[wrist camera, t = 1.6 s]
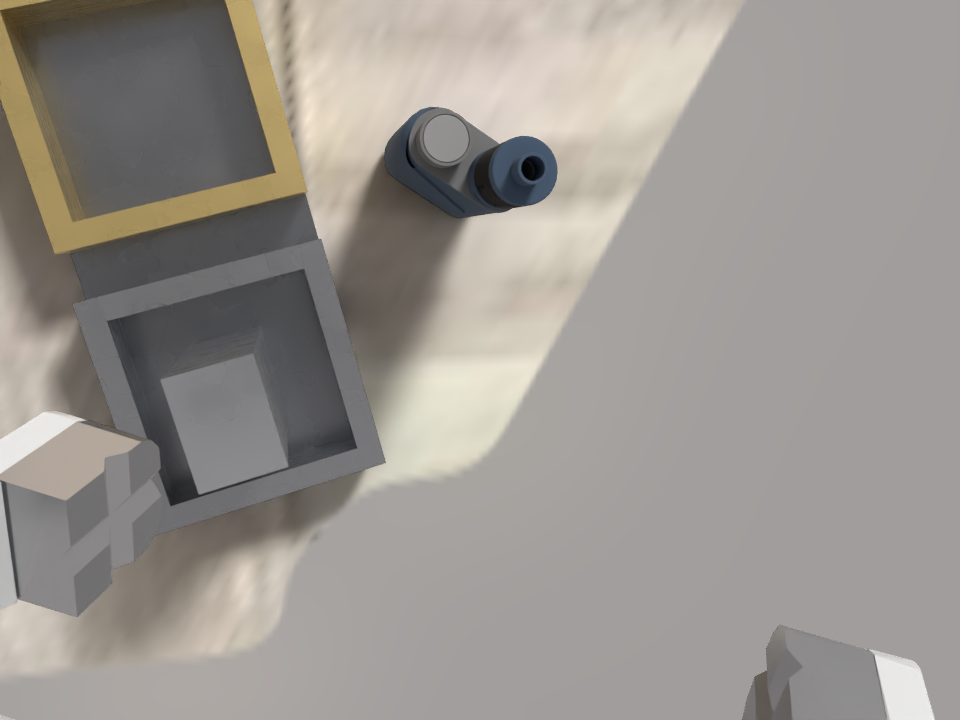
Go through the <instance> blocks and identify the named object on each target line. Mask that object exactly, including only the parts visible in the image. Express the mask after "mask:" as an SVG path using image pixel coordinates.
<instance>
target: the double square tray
mask: <svg viewBox="0 0 960 720" xmlns="http://www.w3.org/2000/svg"><path fill="white" fill-rule="evenodd" d="M0 100H1V102H2V105H3V108H4V111H5V114H6V117H7V120H8V122H9V125H10V128H11V131H12V134H13V137H14V139H15V142H16V145H17V148H18V151H19V154H20V157H21V159H22V162H23V165H24V168H25V171H26V174H27V176H28V179H29V182H30V185H31V188H32V191H33V194H34V196H35V199H36V202H37V205H38V208H39V211H40V214H41V216H42V219H43V222H44V225H45V228H46V231H47V233H48V236H49V239H50V242H51V245H52V248H53V251H54V253H55V254H71V257H72V260H73V263H74V266H75V268H76V271H77V274H78V277H79V280H80V283H81V286H82V289H83V291H84V294H85V297H86V300H84V301H80V302H77V303H73V304H72V305H73V308H74V310H75V313H76V316H77V319H78V322H79V325H80V327H81V330H82V333H83V336H84V339H85V342H86V345H87V347H88V350H89V353H90V356H91V359H92V362H93V365H94V367H95V370H96V373H97V376H98V379H99V382H100V384H101V387H102V390H103V393H104V396H105V399H106V402H107V404H108V407H109V410H110V413H111V416H112V419H113V421H114V424H115V427H116V429H118V430H121V431H124V432H127V433H131V434H134V435H137V436H140V437H143V438H146V439H149V440H152V441H153V442H154V443H155V444H156V445H157V446H158V447H159V452H160V465H161V469H160V470H159V471H158V472H157V473H156V474H155V475H154V476H153V477H152V478H151V480H152V481H153V483H154V484H155V486H156V488H157V489H158V491H159V492H160V494H161V495H162V513H161V517H160V522H159V527H158V529H157V531H156V533H155V535H154V536H156V535H159V534H162V533H165V532H168V531H171V530H175V529H178V528H181V527H184V526H187V525H190V524H194V523H197V522H200V521H203V520H206V519H209V518H212V517H216V516H219V515H222V514H225V513H228V512H231V511H235V510H238V509H241V508H244V507H247V506H250V505H254V504H257V503H260V502H263V501H266V500H269V499H273V498H276V497H279V496H282V495H285V494H288V493H292V492H295V491H298V490H301V489H304V488H307V487H311V486H314V485H317V484H320V483H323V482H326V481H330V480H333V479H336V478H339V477H342V476H345V475H349V474H352V473H355V472H358V471H361V470H364V469H368V468H371V467H374V466H377V465H380V464H383V463H386V462H385V458H384V455H383V451H382V448H381V444H380V441H379V437H378V434H377V430H376V427H375V423H374V420H373V417H372V413H371V410H370V406H369V403H368V399H367V396H366V392H365V389H364V385H363V382H362V379H361V375H360V372H359V368H358V365H357V361H356V358H355V354H354V351H353V347H352V344H351V341H350V337H349V334H348V330H347V327H346V323H345V320H344V316H343V313H342V309H341V306H340V303H339V299H338V296H337V292H336V289H335V285H334V282H333V278H332V275H331V271H330V268H329V264H328V261H327V258H326V254H325V251H324V247H323V244H322V240H321V239H318V236H317V232H316V229H315V226H314V222H313V219H312V215H311V212H310V208H309V205H308V201H307V198H306V193H307V188H306V185H305V182H304V178H303V175H302V171H301V168H300V164H299V161H298V157H297V154H296V150H295V147H294V143H293V140H292V137H291V133H290V130H289V126H288V123H287V119H286V116H285V112H284V109H283V105H282V102H281V99H280V95H279V92H278V88H277V85H276V81H275V78H274V74H273V71H272V67H271V64H270V61H269V57H268V54H267V50H266V47H265V43H264V40H263V36H262V33H261V29H260V26H259V23H258V19H257V16H256V12H255V9H254V5H253V2H252V0H0ZM258 326H261V330H262V333H263V336H264V339H265V342H266V346H267V349H268V352H269V355H270V359H271V362H272V365H273V368H274V372H275V375H276V378H277V381H278V385H279V388H280V391H281V394H282V397H283V401H284V404H285V407H286V410H287V437H288V467H286V468H283V469H280V470H277V471H274V472H270V473H267V474H264V475H261V476H257V477H254V478H251V479H248V480H245V481H241V482H238V483H235V484H232V485H228V486H225V487H222V488H219V489H216V490H212V491H209V492H206V493H203V494H198V491H197V488H196V485H195V482H194V479H193V476H192V473H191V470H190V467H189V464H188V461H187V458H186V455H185V452H184V449H183V446H182V443H181V440H180V437H179V434H178V431H177V428H176V425H175V422H174V419H173V416H172V413H171V410H170V407H169V404H168V401H167V398H166V396H165V393H164V390H163V387H162V384H161V381H160V379H161V378H162V377H163V376H164V375H165V374H166V373H167V372H168V371H169V370H170V368H171V367H172V366H173V365H174V364H175V363H176V362H177V361H178V360H179V359H180V357H181V356H182V355H183V354H184V353H185V352H186V351H187V350H188V349H189V348H190V347H191V345H193V344H197V343H200V342H204V341H207V340H211V339H215V338H218V337H222V336H225V335H229V334H233V333H236V332H240V331H244V330H247V329H251V328H254V327H258Z"/></svg>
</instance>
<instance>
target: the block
mask: <svg viewBox="0 0 960 720" xmlns="http://www.w3.org/2000/svg"><path fill="white" fill-rule="evenodd" d="M160 381H161V384H162V387H163V390H164V393H165V396H166V398H167V401H168V404H169V407H170V410H171V413H172V416H173V419H174V422H175V425H176V428H177V431H178V434H179V437H180V440H181V443H182V446H183V449H184V452H185V455H186V458H187V461H188V464H189V467H190V470H191V473H192V476H193V479H194V482H195V485H196V488H197V491H198V494H203V493H206V492H209V491H212V490H216V489H219V488H222V487H225V486H228V485H232V484H235V483H238V482H241V481H245V480H248V479H251V478H254V477H257V476H261V475H264V474H267V473H270V472H274V471H277V470H280V469H283V468H286V467H288V437H287V410H286V407H285V404H284V401H283V397H282V394H281V391H280V388H279V385H278V381H277V378H276V375H275V372H274V368H273V365H272V362H271V359H270V355H269V352H268V349H267V346H266V342H265V339H264V336H263V333H262V330H261V326H258V327H254V328H251V329H247V330H244V331H240V332H236V333H233V334H229V335H225V336H222V337H218V338H215V339H211V340H207V341H204V342H200V343H197V344H193V345H191V347H190V348H189V349H188V350H187V351H186V352H185V353H184V354H183V355H182V356H181V357H180V359H179V360H178V361H177V362H176V363H175V364H174V365H173V366H172V367H171V368H170V370H169V371H168V372H167V373H166V374H165V375H164V376H163V377H162V378H161V379H160Z"/></svg>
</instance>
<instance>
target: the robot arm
mask: <svg viewBox="0 0 960 720" xmlns="http://www.w3.org/2000/svg"><path fill="white" fill-rule="evenodd" d="M160 469H161V465H160V452H159V447H158V446H157V445H156V444H155V443H154V442H153V441H152V440H149V439H146V438H143V437H140V436H137V435H134V434H131V433H127V432H124V431H121V430H118V429H115V428H112V427H109V426H106V425H102V424H99V423H96V422H93V421H90V420H84V419H82V418H79V417H76V416H72V415H69V414H66V413H63V412H59V411H48V412H43V413H42V414H40V415H39V416H37V417H35V418H34V419H32V420H31V421H29V422H28V423H26V424H24V425H23V426H21V427H20V428H18V429H16V430H15V431H13V432H12V433H10V434H8V435H7V436H5V437H4V438H2V439H0V610H2V609H4V608H6V607H8V606H11V605H13V604H15V603H17V599H19V600H22V601H26V602H29V603H32V604H35V605H39V606H42V607H45V608H48V609H52V610H55V611H58V612H62V613H65V614H68V615H71V616H75V617H78V616H79V615H80V614H81V613H82V612H83V611H84V610H85V609H86V608H87V607H88V606H89V605H90V604H91V603H92V602H93V601H94V600H95V599H96V598H98V597H99V596H100V595H101V594H102V593H103V592H104V591H105V590H106V589H107V588H108V587H109V586H110V585H111V584H112V569H115V568H117V567H120V566H123V565H126V564H129V563H132V562H134V561H135V560H136V559H137V558H138V557H139V556H140V555H141V554H142V553H143V552H144V551H145V550H146V549H147V548H148V546H149V544H150V542H151V540H152V539H153V537H154V535H155V533H156V531H157V529H158V527H159V522H160V517H161V513H162V495H161V494H160V492H159V491H158V489H157V488H156V486H155V484H154V483H153V481H152V480H151V478H152V477H153V476H154V475H155V474H156V473H157V472H158V471H159V470H160ZM766 662H767V671H765V672H763V673H761V674H759V675H757V676H755V677H754V680H753V683H752V685H751V688H750V691H749V694H748V696H747V700H746V704H745V709H744V713H743V717H742V720H935V718H934V715H933V711H932V708H931V704H930V701H929V697H928V694H927V690H926V687H925V683H924V680H923V676H922V673H921V669H920V668H919V666H918V665H917V664H916V663H915V662H914V661H912V660H908V659H904V658H900V657H896V656H893V655H889V654H885V653H882V652H878V651H874V650H871V649H867V650H865V649H862V648H859V647H855V646H852V645H848V644H845V643H842V642H838V641H835V640H831V639H828V638H824V637H821V636H817V635H814V634H810V633H807V632H803V631H800V630H796V629H793V628H789V627H786V626H783V625H778V626H777V628H776V629H775V631H774V632H773V634H772V636H771V638H770V641H769V643H768V646H767V648H766ZM0 720H14V719H11V718H9V717H6V716H4V715H1V714H0Z"/></svg>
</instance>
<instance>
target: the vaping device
mask: <svg viewBox="0 0 960 720" xmlns="http://www.w3.org/2000/svg"><path fill="white" fill-rule="evenodd" d="M384 161H385V166H386V168H387V170H388V173H389V174H390V175H391V176H393V177H394V178H395V179H396V180H398V181H399V182H401V183H402V184H404V185H405V186H407V187H408V188H410V189H411V190H413V191H414V192H416V193H417V194H419V195H420V196H422V197H423V198H425V199H427V200H428V201H430V202H431V203H433V204H434V205H436V206H437V207H439V208H440V209H442V210H443V211H445V212H446V213H448V214H449V215H451V216H453V217H456V218H465V217H471V216H478V215H484V214H491V213H502V212H505V211H508V210H510V209H512V208H516V207H522V206H528V205H533V204H536V203H538V202H540V201H542V200H543V199H545V198H546V197H547V196H548V195H549V194H550V192H551V191H552V189H553V187H554V185H555V183H556V179H557V163H556V160H555V157H554V155H553V153H552V151H551V150H550V149H549V147H548V146H547V145H546V144H545V143H543V142H542V141H540V140H539V139H536V138H534V137H529V136H519V137H515V138H512V139H510V140H508V141H506V142H503V143H501V144H499V143H497V142H496V141H494V140H493V139H492V138H490V137H489V136H487V135H486V134H484V133H483V132H481V131H480V130H479V129H477V128H476V127H474V126H473V125H471V124H470V123H469V122H467V121H466V120H465V119H464V118H463V117H461V116H460V115H458V114H457V113H454V112H453V111H451V110H449V109H446V108H439V107H428V108H425V109H421V110H420V111H418V112H417V113H415V114H414V115H412V116H411V117H410V118H409V119H408V120H407V121H406V122H405V123H404V124H403V125H402V126H401V127H400V128H399V129H398V130H397V131H396V132H395V133H394V135H393V136H392V137H391V138H390V140H389V141H388V143H387V146H386V148H385V154H384Z"/></svg>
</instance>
